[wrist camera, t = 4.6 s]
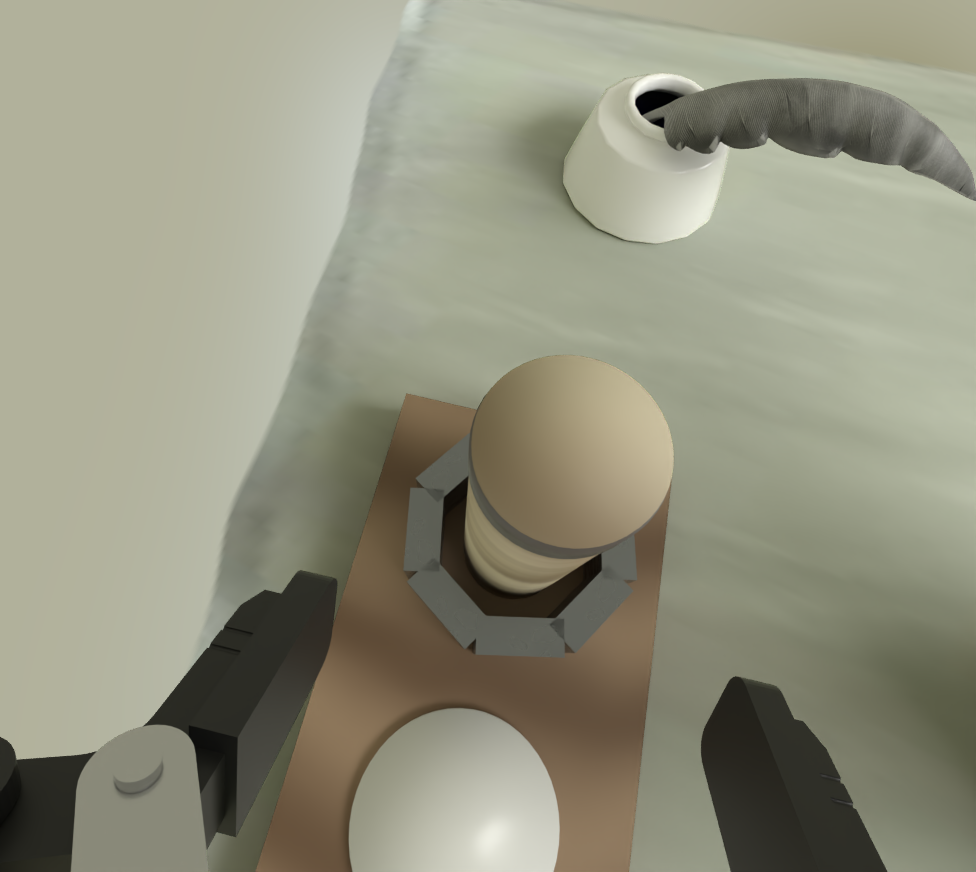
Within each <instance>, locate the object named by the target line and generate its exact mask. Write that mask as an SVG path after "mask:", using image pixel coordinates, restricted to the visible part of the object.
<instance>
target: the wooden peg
mask: <svg viewBox="0 0 976 872" xmlns="http://www.w3.org/2000/svg"><path fill="white" fill-rule="evenodd" d="M673 465H674V449H673V443H672V437H671V434H670V431H669V427H668V424H667V422H666V420H665V418H664V415H663V413H662V412H661V410H660V408H659V407H658V405H657V403H656V402H655V401H654V399H653V398H652V397H651V395H650V394H649V393H648V392H647V391H646V390H645V389H644V388H643V387H642V386H641V385H640V384H639V383H638V382H637V381H635V380H634V379H633V378H632V377H630V376H629V375H627V374H626V373H624V372H623V371H621V370H620V369H618V368H616V367H614V366H612V365H610V364H607V363H605V362H602V361H599V360H596V359H592V358H588V357H583V356H575V355H555V356H547V357H543V358H539V359H535V360H532V361H529V362H527V363H524V364H522V365H520V366H518V367H516V368H515V369H513V370H511V371H510V372H509V373H507V374H506V375H504V376H503V377H502V378H501V379H500V380H499V381H498V382H497V383H496V384H495V385H494V386H493V387H492V388H491V389H490V391H489V392H488V393H487V394H486V395H485V397H484V398H483V400H482V402H481V403H480V405H479V407H478V409H477V411H476V414H475V416H474V418H473V422H472V426H471V430H470V437H469V448H468V474H469V480H468V493H467V506H466V518H465V531H464V544H463V551H464V559H465V562H466V565H467V568H468V570H469V572H470V574H471V575H472V577H473V578H474V580H475V581H476V582H477V583H478V584H479V585H480V586H481V587H482V588H483V589H485V590H486V591H488V592H489V593H491V594H493V595H495V596H498V597H501V598H505V599H523V598H527V597H531V596H533V595H535V594H537V593H539V592H541V591H542V590H544V589H545V588H547V587H548V586H550V585H552V584H553V583H555V582H556V581H558V580H559V579H561V578H562V577H564V576H565V575H567V574H569V573H570V572H572V571H573V570H575V569H576V568H578V567H579V566H581V565H583V564H584V563H586V562H587V561H589V560H590V559H592V558H593V557H595V556H596V555H598V554H601V553H603V552H605V551H607V550H610V549H612V548H614V547H615V546H617V545H618V544H620V543H622V542H623V541H625V540H626V539H628V538H629V537H631V536H632V535H634V534H636V533H637V532H638V531H640V530H641V529H642V528H643V527H644V526H645V525H646V524H647V523H648V522H649V521H650V520H651V519H652V518H653V516H654V515H655V514H656V513H657V511H658V510H659V508H660V506H661V505H662V503H663V501H664V499H665V496H666V494H667V492H668V488H669V486H670V482H671V478H672V474H673Z"/></svg>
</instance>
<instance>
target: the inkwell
mask: <svg viewBox="0 0 976 872" xmlns="http://www.w3.org/2000/svg"><path fill="white" fill-rule="evenodd" d="M767 138H770V139H772V140H773V141H774V142H776V143H777V144H779V145H780V146H782V147H784V148H786V149H789V150H791V151H794V152H797V153H800V154H804V155H809V156H814V157H821V158H834V157H836V156H837V155H838V154H839V153H840V152H841V151H843V152H845V153H847V154H849V155H850V156H852V157H854V158H855V159H858V160H862V161H866V162H872V163H878V164H884V165H901V166H902V167H904V168H905V169H907V170H908V171H910V172H912V173H915V174H919V175H922V176H925V177H928V178H931V179H933V180H935V181H937V182H939V183H941V184H943V185H945V186H947V187H948V188H950V189H952V190H954V191H956V192H958V193H959V194H961V195H963V196H965V197H967V198H969V199H971V200H974V201H976V190H975V184H974V178H973V175H972V172H971V170H970V168H969V166H968V164H967V163H966V161H965V160H964V159H963V157H962V156H961V154H960V153H959V152H958V150H957V149H956V147H955V146H954V145H953V143H952V142H951V141H950V140H949V138H948V137H947V136H946V135H945V134H944V133H943V132H942V131H941V130H940V129H939V128H938V127H937V126H936V125H935V124H934V123H933V122H932V121H930V120H929V119H928V118H926V117H925V116H923V115H922V114H920V113H919V112H918V111H917V110H915V109H914V108H913V107H911V106H910V105H908V104H907V103H905V102H904V101H902V100H901V99H899V98H897V97H895V96H893V95H891V94H888V93H886V92H883V91H880V90H876V89H873V88H869V87H864V86H860V85H857V84H852V83H848V82H843V81H836V80H827V79H810V78H793V79H764V80H751V81H743V82H737V83H732V84H727V85H723V86H719V87H715V88H711V89H707V90H704V89H703V88H702V87H700V86H699V85H698V84H697V83H695V82H694V81H693V80H690V79H688V78H685V77H683V76H680V75H677V74H668V73H657V74H646V75H641V76H635V77H630V78H625V79H623V80H621V81H619V82H618V83H616V84H614V85H612V86H611V87H609V88H607V89H606V90H605V92H604V93H603V95H602V97H601V98H600V100H599V101H598V103H597V105H596V106H595V108H594V109H593V111H592V113H591V114H590V116H589V117H588V119H587V121H586V122H585V124H584V126H583V127H582V129H581V131H580V133H579V134H578V136H577V138H576V139H575V141H574V143H573V145H572V146H571V148H570V150H569V152H568V154H567V155H566V157H565V159H564V172H563V184H564V186H565V188H566V190H567V192H568V194H569V196H570V198H571V201H572V203H573V205H574V207H575V208H576V209H577V210H578V211H579V212H580V213H581V214H582V215H583V216H584V217H585V218H586V219H587V220H588V221H590V222H591V223H592V224H593V225H594V226H595V227H596V228H598V229H600V230H602V231H605V232H607V233H609V234H612V235H614V236H616V237H618V238H621V239H623V240H625V241H634V242H643V243H652V244H659V243H663V242H667V241H671V240H676V239H680V238H684V237H687V236H689V235H690V234H691V233H693V232H694V231H695V230H697V229H698V228H700V227H701V226H702V225H704V224H705V223H707V222H708V221H709V219H710V217H711V214H712V212H713V210H714V208H715V206H716V203H717V201H718V198H719V194H720V190H721V186H722V182H723V177H724V173H725V169H726V164H727V160H728V155H729V150H730V147H732V148H737V149H749V148H754V147H758V146H761V145H764V144H765V143H766V141H767Z"/></svg>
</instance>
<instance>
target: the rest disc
mask: <svg viewBox="0 0 976 872" xmlns="http://www.w3.org/2000/svg"><path fill="white" fill-rule="evenodd" d="M559 832H560V825H559V811H558V805H557V800H556V795H555V792H554V788H553V785H552V781H551V779H550V777H549V774H548V772H547V770H546V767H545V766H544V764H543V762H542V760H541V759H540V757H539V755H538V754H537V752H536V751H535V750H534V748H533V747H532V746H531V744H530V743H529V742H528V741H527V740H526V739H525V738H524V737H523V735H522V734H521V733H520V732H518V731H517V730H516V729H515V728H513V727H512V726H511V725H510V724H508V723H507V722H505V721H503V720H502V719H500V718H498V717H496V716H494V715H491V714H489V713H486V712H483V711H479V710H475V709H468V708H447V709H441V710H436V711H433V712H430V713H427V714H424V715H422V716H420V717H418V718H416V719H414V720H412V721H410V722H408V723H407V724H405V725H404V726H403V727H401V728H400V729H398V730H397V731H396V732H395V733H394V734H393V735H392V736H391V737H389V738H388V740H387V741H386V742H385V743H384V744H383V745H382V746H381V747H380V749H379V750H378V751H377V753H376V754H375V756H374V757H373V759H372V760H371V761H370V763H369V765H368V767H367V769H366V770H365V772H364V774H363V776H362V778H361V781H360V783H359V786H358V788H357V791H356V794H355V798H354V802H353V805H352V810H351V817H350V823H349V853H350V861H351V866H352V872H553V871H554V868H555V864H556V860H557V854H558V847H559Z"/></svg>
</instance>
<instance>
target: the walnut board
mask: <svg viewBox="0 0 976 872" xmlns="http://www.w3.org/2000/svg"><path fill="white" fill-rule="evenodd" d="M476 411H477V410H475V409H471V408H466V407H462V406H458V405H454V404H449V403H445V402H441V401H436V400H432V399H428V398H424V397H419V396H415V395H411V394H406V396H405V400H404V403H403V406H402V409H401V412H400V415H399V419H398V422H397V425H396V428H395V431H394V434H393V438H392V441H391V444H390V447H389V450H388V453H387V457H386V460H385V463H384V466H383V469H382V472H381V476H380V479H379V482H378V485H377V488H376V491H375V495H374V498H373V501H372V504H371V507H370V510H369V514H368V517H367V520H366V523H365V526H364V529H363V533H362V536H361V539H360V542H359V545H358V548H357V552H356V555H355V558H354V561H353V564H352V567H351V571H350V574H349V577H348V580H347V583H346V586H345V590H344V593H343V596H342V599H341V602H340V605H339V609H338V612H337V615H336V618H335V621H334V624H333V629H332V637H331V642H330V646H329V650H328V653H327V656H326V659H325V661H324V664H323V666H322V668H321V670H320V672H319V674H318V676H317V678H316V681H315V685H314V688H313V691H312V694H311V697H310V700H309V704H308V707H307V710H306V713H305V716H304V719H303V723H302V726H301V729H300V732H299V735H298V738H297V742H296V745H295V748H294V751H293V754H292V757H291V761H290V764H289V767H288V770H287V773H286V776H285V780H284V783H283V786H282V789H281V792H280V795H279V799H278V802H277V805H276V808H275V811H274V814H273V818H272V821H271V824H270V827H269V830H268V833H267V837H266V840H265V843H264V846H263V849H262V852H261V855H260V859H259V862H258V865H257V868H256V871H255V872H352V866H351V861H350V853H349V823H350V817H351V810H352V805H353V802H354V798H355V794H356V791H357V788H358V786H359V783H360V781H361V778H362V776H363V774H364V772H365V770H366V769H367V767H368V765H369V763H370V761H371V760H372V759H373V757H374V756H375V754H376V753H377V751H378V750H379V749H380V747H381V746H382V745H383V744H384V743H385V742H386V741H387V740H388V738H389V737H391V736H392V735H393V734H394V733H395V732H396V731H397V730H398V729H400V728H401V727H403V726H404V725H405V724H407V723H408V722H410V721H412V720H414V719H416V718H418V717H420V716H422V715H424V714H427V713H430V712H433V711H436V710H441V709H447V708H468V709H475V710H479V711H483V712H486V713H489V714H491V715H494V716H496V717H498V718H500V719H502V720H503V721H505V722H507V723H508V724H510V725H511V726H512V727H513V728H515V729H516V730H517V731H518V732H520V733H521V734H522V735H523V737H524V738H525V739H526V740H527V741H528V742H529V743H530V744H531V746H532V747H533V748H534V750H535V751H536V752H537V754H538V755H539V757H540V759H541V760H542V762H543V764H544V766H545V767H546V770H547V772H548V774H549V777H550V779H551V781H552V785H553V788H554V792H555V795H556V800H557V805H558V811H559V825H560V832H559V847H558V854H557V860H556V864H555V868H554V871H553V872H629V866H630V857H631V848H632V839H633V829H634V820H635V811H636V802H637V793H638V783H639V774H640V765H641V756H642V747H643V737H644V728H645V719H646V710H647V701H648V691H649V682H650V673H651V664H652V655H653V645H654V636H655V627H656V618H657V609H658V599H659V590H660V581H661V572H662V563H663V553H664V544H665V535H666V526H667V517H668V507H669V498H670V489H671V482H670V486H669V488H668V492H667V494H666V496H665V499H664V501H663V503H662V505H661V506H660V508H659V510H658V511H657V513H656V514H655V515H654V516H653V518H652V519H651V520H650V521H649V522H648V523H647V524H646V525H645V526H644V527H643V528H642V529H641V530H640V531H638V532H637V533H636V534H634V537H635V553H636V569H637V580H636V581H634V582H631V583H628V585H629V586H630V587H631V588H632V590H633V592H632V593H631V594H630V595H629V596H628V597H627V598H626V599H625V601H624V602H623V603H622V604H621V605H620V606H619V607H618V608H617V609H616V610H615V611H614V612H613V613H612V615H611V616H610V617H609V618H608V619H607V620H606V621H605V622H604V623H603V624H602V625H601V626H600V627H599V629H598V630H597V631H596V632H595V633H594V634H593V635H592V636H591V637H590V638H589V639H588V640H587V641H586V643H585V644H584V645H583V646H582V647H581V648H580V649H579V650H578V651H577V652H576V653H565V658H558V657H529V656H501V655H475V654H473V642H472V643H471V644H470V645H469V646H468V647H467V648H466V649H463V648H462V647H461V645H460V644H459V643H458V642H457V641H456V640H455V638H454V637H453V636H452V635H451V634H450V633H449V631H448V630H447V629H446V628H445V627H444V626H443V624H442V623H441V622H440V621H439V620H438V619H437V617H436V616H435V615H434V614H433V613H432V612H431V610H430V609H429V608H428V607H427V606H426V605H425V603H424V602H423V601H422V600H421V599H420V598H419V596H418V595H417V594H416V593H415V592H414V591H413V589H412V588H411V587H410V585H409V584H408V583H407V581H408V580H409V578H408V577H407V575H406V574H405V572H404V571H403V568H404V556H405V545H406V534H407V522H408V511H409V499H410V488H418V487H417V483H416V479H415V478H416V477H418V476H419V475H420V474H421V473H422V472H424V471H425V470H426V469H427V468H428V467H429V466H431V465H432V464H433V463H434V462H435V461H437V460H438V459H439V458H440V457H441V456H443V455H444V454H445V453H446V452H447V451H448V450H450V449H451V448H452V447H453V446H454V445H456V444H457V443H458V442H459V441H460V440H462V439H463V438H464V437H465V436H466V435H467V434H469V433H470V430H471V426H472V422H473V418H474V416H475V414H476ZM671 480H672V478H671ZM466 506H467V497H466V498H465V499H464V500H463V501H461V502H460V503H459V504H458V505H457V506H456V507H455V508H453V509H452V510H451V511H450V512H449V513H448V514H447V515H446V516H445V526H444V542H443V559H442V567H443V568H444V569H445V570H446V571H447V573H448V574H449V575H450V576H451V577H452V578H453V579H454V580H455V582H456V583H457V584H458V585H459V586H460V587H461V588H462V589H463V591H464V592H465V593H466V594H467V595H468V596H469V597H470V598H471V600H472V601H473V602H474V603H475V604H476V605H477V606H478V608H479V609H480V610H481V611H482V612H483V613H484V614H485V615H486V616H503V617H529V618H547V617H548V616H549V615H550V614H551V613H552V612H553V611H554V610H555V609H556V607H557V606H558V605H559V604H560V603H561V602H562V601H563V600H564V599H565V598H566V597H567V596H568V595H569V594H570V593H571V592H572V591H573V590H574V589H575V588H576V587H577V586H578V585H579V584H580V583H581V582H582V581H583V565H581V566H579V567H578V568H576V569H575V570H573V571H572V572H570V573H569V574H567V575H565V576H564V577H562V578H561V579H559V580H558V581H556V582H555V583H553V584H552V585H550V586H548V587H547V588H545V589H544V590H542V591H541V592H539V593H537V594H535V595H533V596H531V597H527V598H523V599H505V598H501V597H498V596H495V595H493V594H491V593H489V592H488V591H486V590H485V589H483V588H482V587H481V586H480V585H479V584H478V583H477V582H476V581H475V580H474V578H473V577H472V575H471V574H470V572H469V570H468V568H467V565H466V562H465V559H464V551H463V544H464V531H465V518H466Z"/></svg>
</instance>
